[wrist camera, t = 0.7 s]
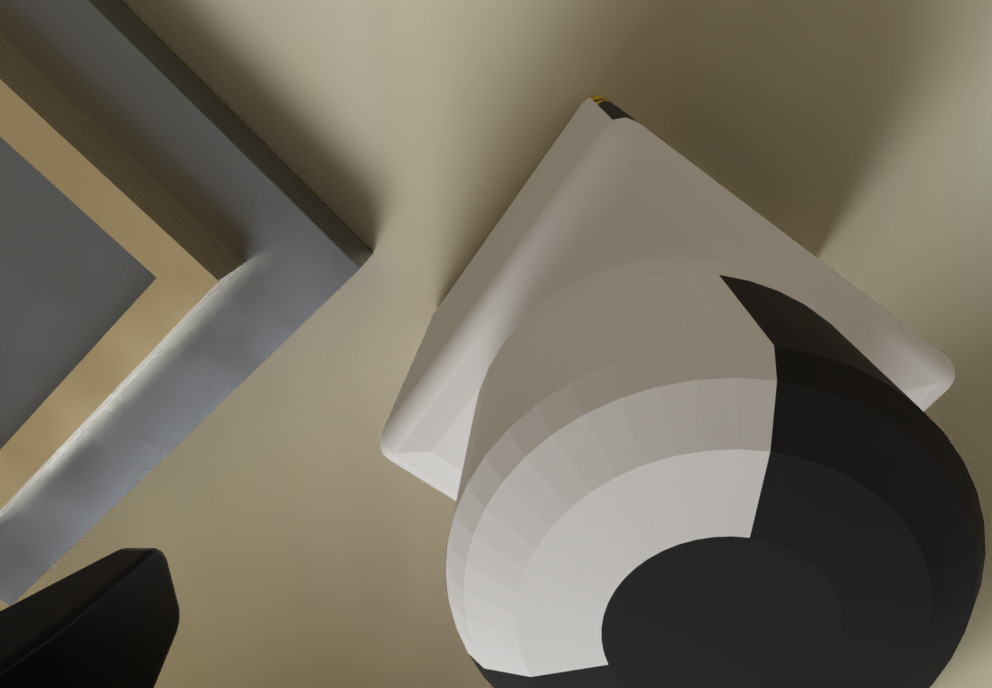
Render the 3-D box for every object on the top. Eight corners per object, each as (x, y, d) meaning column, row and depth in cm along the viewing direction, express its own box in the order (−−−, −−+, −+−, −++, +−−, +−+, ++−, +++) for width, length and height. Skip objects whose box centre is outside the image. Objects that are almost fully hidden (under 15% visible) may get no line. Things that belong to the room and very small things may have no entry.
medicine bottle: (818, 259, 18) (1253, 586, 7) (638, 457, 21) (747, 934, 9) (591, 87, 17) (676, 149, 6) (428, 319, 19) (270, 675, 8)
